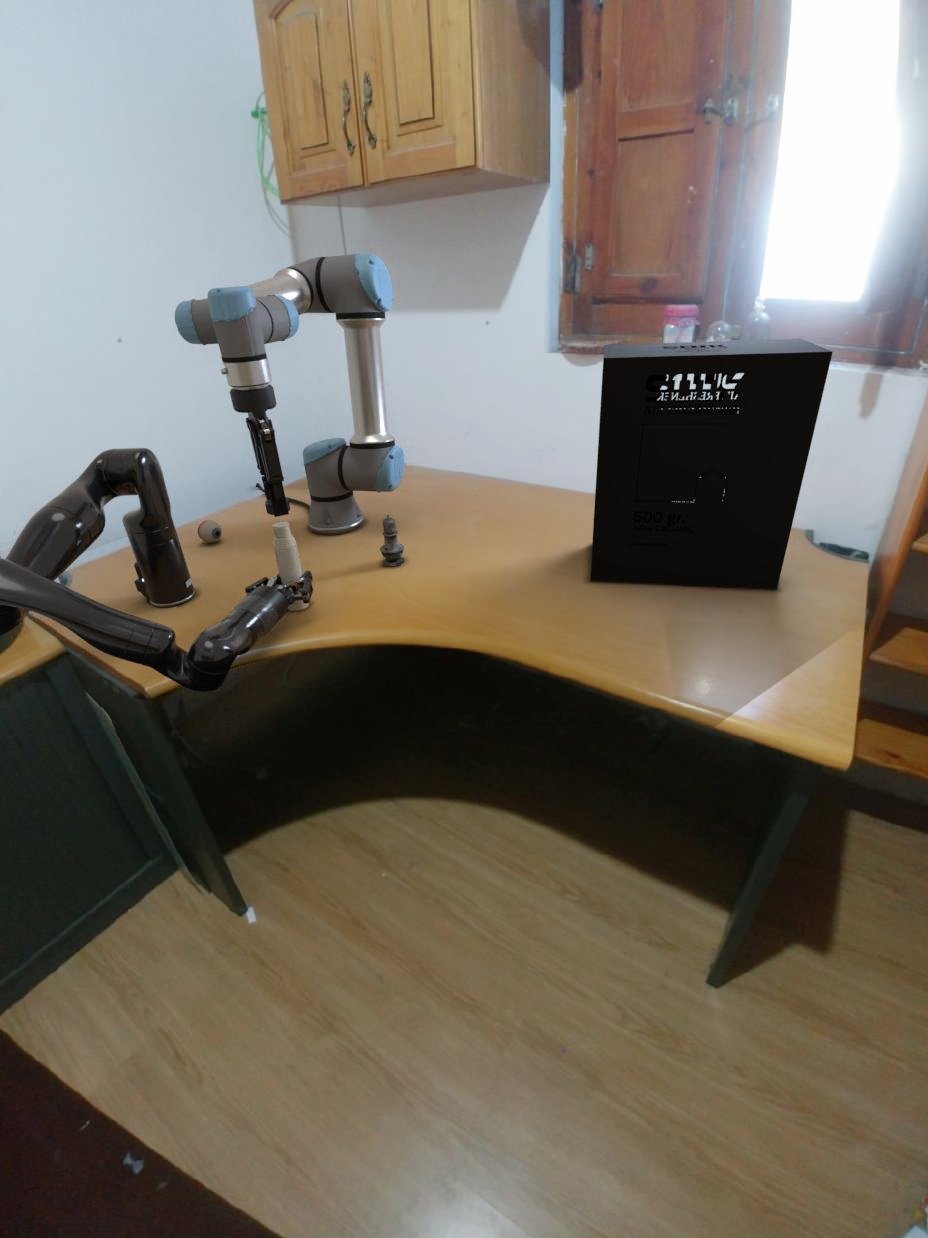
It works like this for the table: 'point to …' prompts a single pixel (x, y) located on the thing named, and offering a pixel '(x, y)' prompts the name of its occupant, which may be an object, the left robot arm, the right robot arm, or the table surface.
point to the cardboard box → (703, 460)
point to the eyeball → (209, 531)
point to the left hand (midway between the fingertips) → (298, 574)
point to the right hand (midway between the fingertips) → (278, 510)
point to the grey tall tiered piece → (391, 544)
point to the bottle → (287, 558)
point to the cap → (270, 509)
